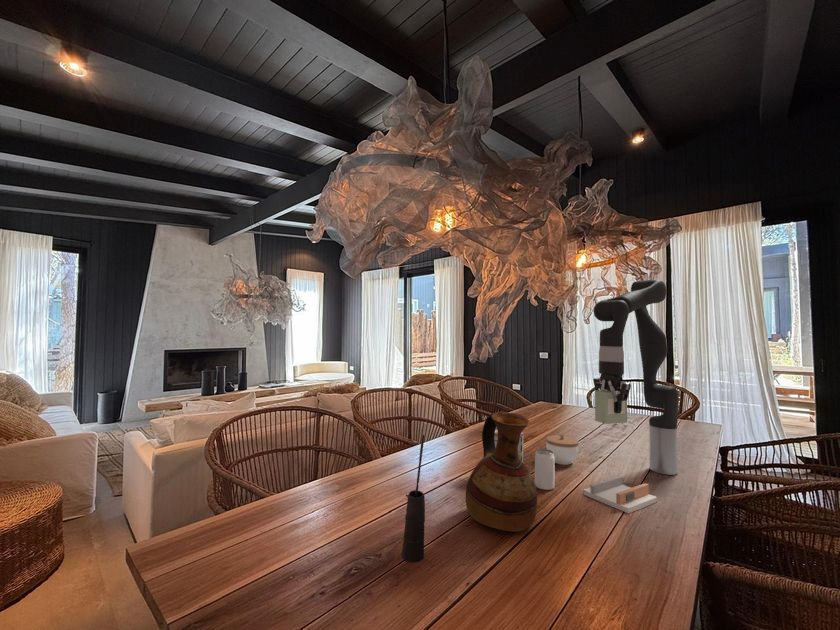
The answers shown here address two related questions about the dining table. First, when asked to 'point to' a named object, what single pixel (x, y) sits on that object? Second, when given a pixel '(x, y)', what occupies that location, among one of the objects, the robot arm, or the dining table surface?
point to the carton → (608, 408)
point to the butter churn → (414, 522)
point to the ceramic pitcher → (502, 478)
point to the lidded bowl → (562, 448)
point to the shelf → (621, 494)
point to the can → (544, 469)
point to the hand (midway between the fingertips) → (611, 411)
